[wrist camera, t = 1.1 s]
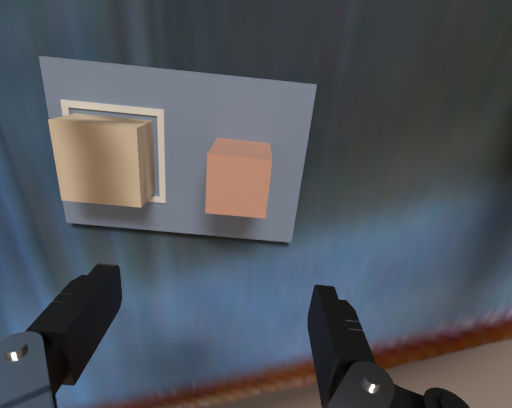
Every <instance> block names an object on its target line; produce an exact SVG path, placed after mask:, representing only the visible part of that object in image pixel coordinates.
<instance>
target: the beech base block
mask: <svg viewBox="0 0 512 408" xmlns="http://www.w3.org/2000/svg"><path fill="white" fill-rule="evenodd" d="M48 122H49V128H50V134H51V140H52V146H53V152H54V158H55V164H56V170H57V176H58V182H59V188H60V194H61V200H62V201H73V202H85V203H96V204H107V205H118V206H129V207H140V208H141V207H142V206H143V205H144V204H145V203H146V201H147V200H148V199H149V198H150V197H151V196H152V194H153V193H154V192H155V176H154V149H153V121H149V120H139V119H129V118H119V117H109V116H98V115H88V114H78V113H74V114H70V115H66V116H62V117H57V118H53V119H49V120H48Z"/></svg>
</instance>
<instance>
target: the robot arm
mask: <svg viewBox="0 0 512 408" xmlns="http://www.w3.org/2000/svg"><path fill="white" fill-rule="evenodd" d="M121 301H122V289H121V277H120V268H119V266H118V265H109V264H97V265H96V266H95V267H94V268H93V269H92V271H91V272H90V273H89V274H88V275H81V276H79V277H78V278H76V279H74V280H73V281H71V282H69V283H68V285H67V286H66V287H65V288H64V289H63V290H62V291H61V293H60V294H59V295H58V296H57V297H56V298H55V299H54V301H53V302H51V303H50V305H49V306H48V307H47V308H46V309H45V310H44V311H43V312H42V313H41V314H40V316H39V317H38V318H37V319H36V320H35V321H34V322H33V323H32V324H31V326H30V327H29V328H28V329H27V330H26V331H25V332H19V333H16V334H13V335H10V336H8V337H6V338H4V339H2V340H1V341H0V408H58V406H57V399H56V395H55V394H56V392H57V391H58V389H59V388H60V386H61V385H75V384H76V382H77V380H78V379H79V377H80V375H81V374H82V372H83V370H84V368H85V367H86V365H87V363H88V362H89V360H90V358H91V357H92V355H93V353H94V352H95V350H96V348H97V347H98V345H99V343H100V341H101V340H102V338H103V336H104V335H105V333H106V331H107V330H108V328H109V326H110V325H111V323H112V321H113V319H114V318H115V316H116V314H117V313H118V311H119V309H120V306H121ZM308 332H309V338H310V343H311V349H312V355H313V360H314V366H315V371H316V377H317V382H318V388H319V393H320V399H321V404H322V407H323V408H469V406H468V405H467V404H466V403H465V402H464V401H463V400H462V399H461V398H459V397H458V396H456V395H455V394H453V393H452V392H450V391H448V390H445V389H442V388H430V389H428V390H427V391H426V392H425V394H424V396H422V395H419V394H417V393H414V392H411V391H409V390H406V389H404V388H401V387H399V386H397V385H395V384H394V383H393V381H392V379H391V377H390V376H389V375H388V373H387V372H386V371H385V370H383V369H382V368H381V367H379V366H378V365H376V362H375V360H374V357H373V355H372V352H371V349H370V347H369V344H368V342H367V339H366V337H365V334H364V332H363V331H362V327H361V324H360V323H359V319H358V316H357V314H356V311H355V309H354V308H353V307H352V306H351V305H350V304H349V303H348V302H347V301H346V300H339V299H338V296H337V293H336V290H335V288H334V286H324V285H315V286H314V290H313V294H312V299H311V303H310V308H309V312H308Z"/></svg>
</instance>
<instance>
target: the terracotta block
mask: <svg viewBox="0 0 512 408" xmlns="http://www.w3.org/2000/svg"><path fill="white" fill-rule="evenodd" d="M271 168H272V153H271V146H270V143H263V142H253V141H243V140H232V139H222V138H217V139H216V141H215V142H214V144H213V145H212V147H211V149H210V150H209V152H208V153H207V174H206V204H205V213H209V214H220V215H231V216H242V217H253V218H264V219H266V210H267V202H268V193H269V185H270V177H271Z"/></svg>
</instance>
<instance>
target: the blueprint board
mask: <svg viewBox="0 0 512 408" xmlns="http://www.w3.org/2000/svg"><path fill="white" fill-rule="evenodd" d="M39 60H40V66H41V72H42V78H43V84H44V90H45V96H46V102H47V108H48V115H49V119H53V118H57V117H62V116H66V115H70V114H74V113H78V114H88V115H98V116H109V117H119V118H129V119H139V120H149V121H153V149H154V176H155V192H154V193H153V194H152V196H151V197H150V198H149V199H148V200H147V201H146V203H145V204H144V205H143V206H142V207H141V208H140V207H129V206H118V205H107V204H96V203H85V202H73V201H63V205H64V211H65V217H66V223H75V224H87V225H98V226H109V227H120V228H132V229H143V230H154V231H165V232H177V233H188V234H199V235H210V236H222V237H233V238H244V239H256V240H267V241H278V242H289V243H291V242H292V235H293V229H294V223H295V217H296V211H297V205H298V198H299V192H300V186H301V180H302V174H303V168H304V161H305V155H306V149H307V143H308V137H309V130H310V124H311V118H312V112H313V106H314V100H315V93H316V87H317V85H316V84H308V83H298V82H288V81H279V80H269V79H259V78H250V77H240V76H230V75H220V74H211V73H201V72H191V71H182V70H172V69H162V68H153V67H143V66H133V65H123V64H114V63H104V62H94V61H85V60H75V59H65V58H56V57H45V56H39ZM217 138H222V139H232V140H243V141H253V142H263V143H270V146H271V153H272V168H271V177H270V185H269V193H268V202H267V210H266V219H264V218H253V217H242V216H231V215H220V214H209V213H205V204H206V174H207V153H208V152H209V150H210V149H211V147H212V145H213V144H214V142H215V141H216V139H217Z"/></svg>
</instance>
